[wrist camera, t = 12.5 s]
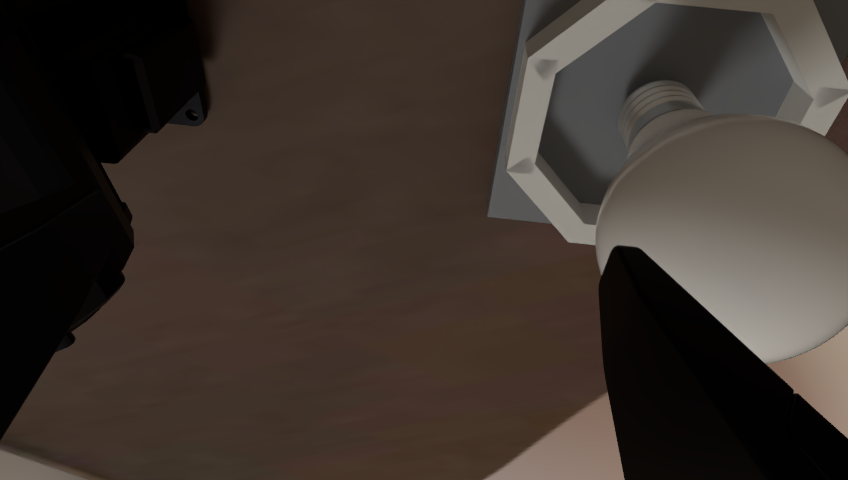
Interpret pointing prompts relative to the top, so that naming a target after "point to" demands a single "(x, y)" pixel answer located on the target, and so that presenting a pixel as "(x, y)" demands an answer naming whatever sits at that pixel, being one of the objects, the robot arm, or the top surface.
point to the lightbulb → (735, 216)
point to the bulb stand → (638, 65)
